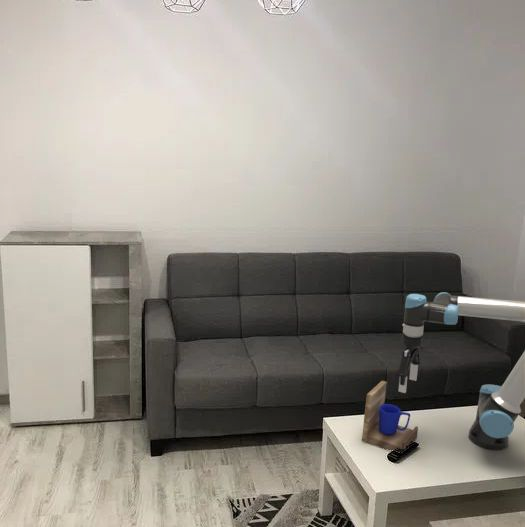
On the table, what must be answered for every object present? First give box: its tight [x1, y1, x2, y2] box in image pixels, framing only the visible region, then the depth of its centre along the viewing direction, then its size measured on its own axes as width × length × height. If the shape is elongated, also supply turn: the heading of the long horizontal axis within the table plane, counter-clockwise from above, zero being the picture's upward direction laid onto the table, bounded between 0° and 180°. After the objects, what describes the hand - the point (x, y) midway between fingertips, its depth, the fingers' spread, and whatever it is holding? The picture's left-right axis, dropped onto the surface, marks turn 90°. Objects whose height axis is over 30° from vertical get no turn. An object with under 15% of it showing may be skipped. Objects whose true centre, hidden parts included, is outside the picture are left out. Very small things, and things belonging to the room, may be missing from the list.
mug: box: [379, 403, 411, 435], centre depth 242 cm, size 8×12×10 cm
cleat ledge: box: [365, 424, 419, 452], centre depth 242 cm, size 15×16×5 cm
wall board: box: [361, 380, 388, 443], centre depth 245 cm, size 2×16×20 cm, turn 148°
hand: (407, 385), depth 239 cm, fingers open, 13 cm apart
